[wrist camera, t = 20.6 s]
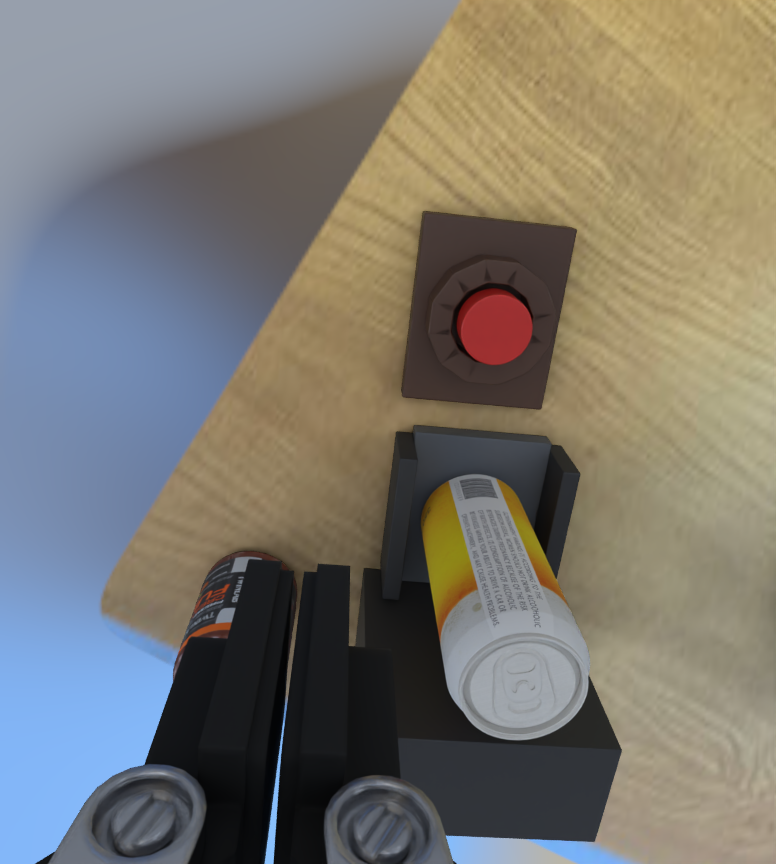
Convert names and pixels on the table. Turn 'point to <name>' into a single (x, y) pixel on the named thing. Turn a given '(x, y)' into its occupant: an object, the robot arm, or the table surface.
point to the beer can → (500, 613)
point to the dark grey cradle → (423, 664)
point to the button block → (468, 274)
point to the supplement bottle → (224, 599)
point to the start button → (494, 326)
